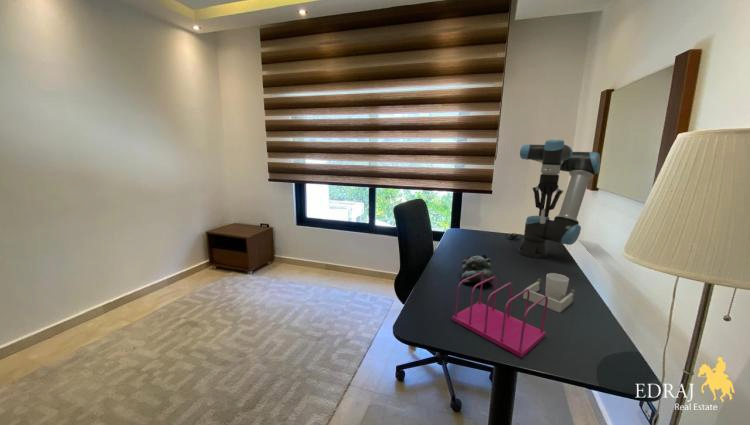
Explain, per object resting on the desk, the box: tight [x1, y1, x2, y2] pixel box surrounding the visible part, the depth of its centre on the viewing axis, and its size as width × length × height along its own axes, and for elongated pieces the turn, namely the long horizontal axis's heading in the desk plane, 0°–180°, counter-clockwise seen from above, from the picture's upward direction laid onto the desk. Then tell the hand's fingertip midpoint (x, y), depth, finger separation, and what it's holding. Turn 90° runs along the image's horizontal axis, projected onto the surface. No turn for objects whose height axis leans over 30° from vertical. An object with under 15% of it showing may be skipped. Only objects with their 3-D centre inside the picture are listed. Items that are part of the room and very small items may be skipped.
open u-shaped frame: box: [522, 278, 576, 313], centre depth 122 cm, size 14×14×5 cm
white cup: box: [544, 272, 570, 301], centre depth 122 cm, size 8×8×10 cm
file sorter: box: [451, 273, 548, 358], centre depth 101 cm, size 17×25×16 cm
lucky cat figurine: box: [461, 254, 494, 284], centre depth 138 cm, size 15×12×14 cm
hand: (542, 223), depth 143 cm, fingers closed
